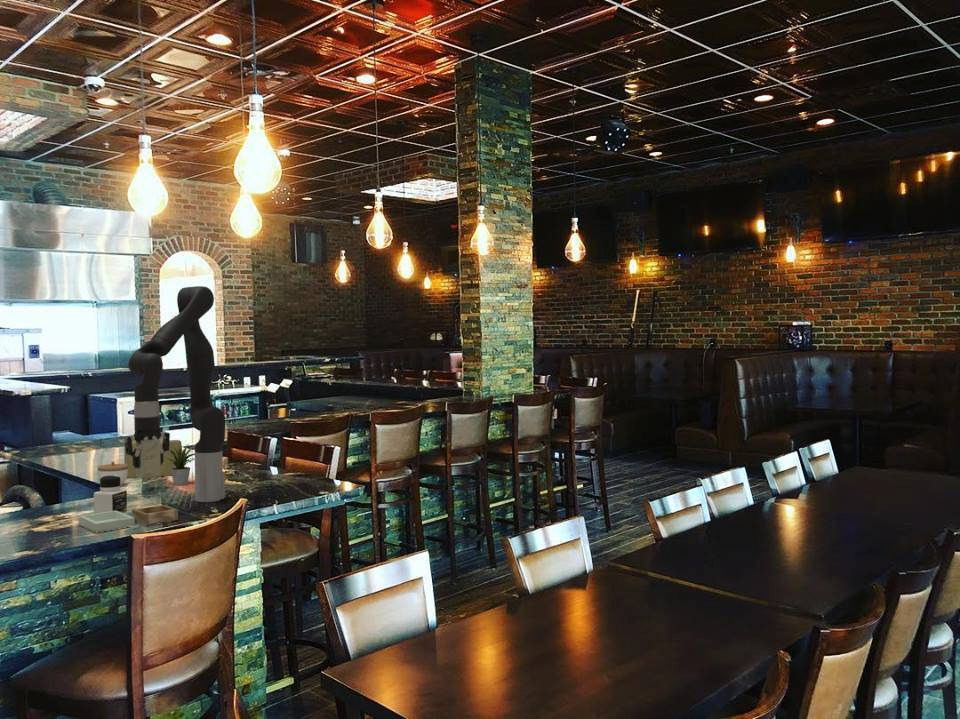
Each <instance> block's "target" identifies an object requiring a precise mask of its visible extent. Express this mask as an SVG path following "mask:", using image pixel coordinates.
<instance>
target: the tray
mask: <svg viewBox="0 0 960 719" xmlns="http://www.w3.org/2000/svg"><path fill="white" fill-rule="evenodd" d="M79 525H81V526H83V527H82V528H84V527H85V528H84V529H86V528H87V529H86V530H88V529H89V530H88V531H90V530H91V531H90V532H92V531H93V533H94V532H95V534H99V533H98V532H101V533H105V532H104V531H107V532H111V531H110V530H113V531H116V530H115V529H119V528H124V527H129V526H135V522H134V517H132V515H128V514H125V513H124V512H119V511H109V512H103V513H96V514H94V513H92V514H85V515H78V526H79ZM81 526H80V527H81ZM119 530H120V529H119Z"/></svg>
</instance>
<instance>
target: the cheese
mask: <svg viewBox="0 0 960 719" xmlns="http://www.w3.org/2000/svg"><path fill="white" fill-rule="evenodd" d="M179 444H180V448H181V453H182V452H183V445H182V441H181V440H180V439H170V443H169V449H170V450H172V451H174V452H175V454H176V456H177V452H176V450H177V448H178V445H179ZM135 445H136V440H135V439H134V440H133V442H132V450H134V447H135ZM160 445H161V447H162V445H163V440H160ZM123 446H124V454H123V455H124V460H123V461H124V463H123V464H127V465H128V475H127V479H135V478H137V479H139V478H138V477H136V468H135V467H134V466H133V457H132V456H131V455H127V454H126V450H125V443H124V445H123ZM172 447H174V448H175V449H176V450H175V449H174V448H172ZM170 450H168V451H165V452H164V453H163V463H162V465H161V476H172V472H171V468H175V467H176V466H175V465H174V464H173V462H171V463H172V464H170V460H168V459H166V458H170V459H172V460H173V461H176V460H174V459H175V458H173V457H174V456H173V454H172V453H171V451H170ZM172 456H173V457H172ZM158 477H159V478H161V477H160V476H156V477H155V478H158Z"/></svg>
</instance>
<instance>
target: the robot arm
mask: <svg viewBox="0 0 960 719" xmlns="http://www.w3.org/2000/svg"><path fill="white" fill-rule="evenodd" d="M176 302H177V303H176V304H177V308H178V314H177V315H175V316H174V317H172V318H171V319H169V320H168V321H167V322H165V323H164V324H163V325H161V327H160V328H159V329H158V330H157V331H156V332H155V333H154V334H153V336H152V337H151V339H149V341H147V342H146V343H145V344H143V345H142V346H141V347H139V348H138V349H136V351H134V353H133V354H132V355H131V356H130V358H129V360H128V365H127V366H128V369H129V371H130V373H132V374H134V375H138V376H143V379H142V381H141V382H138V383H136V384H134V391H133V392H134V407H133V415H134V416H133V420H134V422H133V425H134V434H133V435H131V436H128V435H126V436H124V444H125V450H126V454H127V455H131V456H132V457H133V466H134V467H135V468H139V467H140V466H139V457H138V455H139V453H140V451H141V450H142V442H141V441H146V440H154V441H155V440H156V441H157V447H158V448H159V447H160V464H161V465H162V463H163V453H164V452H165V451H168V450H169V443H170V440H171V438H170V437H171V433H170V432H167V431H163V432H161V429H160V428H161V419H160V417H161V416H160V414H161V412H160V403H159V386H160V382H161V379H162V378H161V377H162V374H163V370H164V363H163V360H162V357H165V356H167V355H169V353H170V352H171V351H172V349H173V348H174V347H175V346H176V344H178V341H180V339H181V338H182V336H183V342H184V349H185V351H184V352H185V360H186V361H185V362H186V369H187V375H188V376H187V377H188V386H189V393H190V394H189V396H190V398H189V399H190V422H191V424H192V427H193V428H194V429H196V430H197V431H199V440H198V442H196V443H195V444H194V450H195V451H194V453H195V455H194V502H197V503H198V502H199V503H214V502H218V501H221V499H222V500H225V499H226V473H225V471H223V447H224V443H225V439H226V436H225V435H226V433H225V432H226V418H225V412H224V411H223V410H222V408H220V407H218V406H215V405H214V406H213V403H212V396H211V387H212V383H213V379H214V375H215V369H216V363H215V354H214V349H213V346H212V345H211V343H210V341H209V339H208V338H207V336H206V334H205V333H204V332H203V330H202V326H201V324H200V319H201V318H202V317H203V316H204V315H206V313H208V312H209V311H210V310H211V309H212V307H213V305H214V303H215V296H214V293H213V291H212V290H211V288H209V287H207V286H203V285H202V286H201V285H199V286H198V285H197V286H188V287H187V286H185V287H182V288H180V289H179V291H178V293H177V296H176ZM157 439H162V441H163V445H162V447H161V445H160V443H159V441H158V440H157ZM133 440H136V442H138V443H139V444H140V445H139V447H138V446H136V445H135V447H134V450H132V442H133ZM140 442H141V443H140ZM224 498H225V499H224Z"/></svg>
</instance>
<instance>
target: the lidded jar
mask: <svg viewBox="0 0 960 719" xmlns="http://www.w3.org/2000/svg"><path fill="white" fill-rule="evenodd" d="M110 475H116V476H119V477H120V482H121V487H122V486H123V484H124V483H125V482H126V481H127V479H128V478H127V475H128V465H127V464H125V463H115V461H111V464H109V463H108V464H103V465H98V466H97V477H98V480H99V481H100V478H102V477H104V476H110Z"/></svg>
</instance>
